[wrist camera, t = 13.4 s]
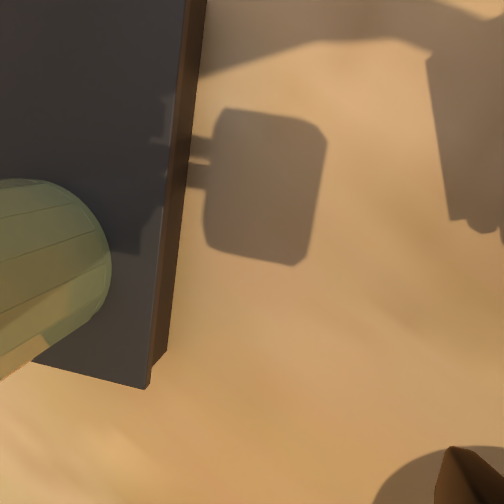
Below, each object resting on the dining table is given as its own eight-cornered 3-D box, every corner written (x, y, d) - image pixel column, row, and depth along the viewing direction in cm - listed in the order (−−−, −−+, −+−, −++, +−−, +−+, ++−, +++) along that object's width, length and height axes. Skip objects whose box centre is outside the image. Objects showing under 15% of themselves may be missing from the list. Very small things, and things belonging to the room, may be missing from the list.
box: (215, -9, 20) (189, -39, 16) (172, 357, 24) (144, 390, 20) (-14, -34, 21) (-77, -65, 18) (-17, 313, 25) (-70, 337, 22)
